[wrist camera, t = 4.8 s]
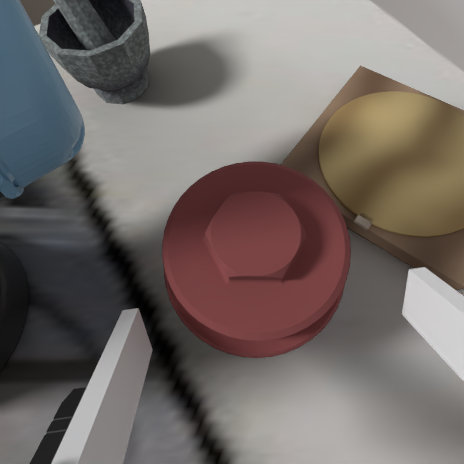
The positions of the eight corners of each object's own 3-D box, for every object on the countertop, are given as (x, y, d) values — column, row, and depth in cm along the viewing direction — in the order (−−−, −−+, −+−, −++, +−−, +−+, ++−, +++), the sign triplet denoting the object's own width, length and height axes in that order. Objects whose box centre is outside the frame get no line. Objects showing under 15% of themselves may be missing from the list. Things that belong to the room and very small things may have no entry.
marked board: (271, 183, 26) (273, 172, 24) (355, 78, 30) (361, 62, 28) (451, 291, 22) (468, 288, 20) (519, 152, 26) (538, 139, 24)
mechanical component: (337, 308, 22) (226, 375, 20) (271, 209, 25) (172, 261, 24) (441, 278, 10) (199, 428, 9) (291, 101, 13) (101, 191, 12)
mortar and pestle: (180, 81, 31) (143, -61, 20) (115, 130, 29) (33, 3, 18) (122, 37, 34) (61, -107, 23) (59, 79, 32) (-41, -57, 21)
